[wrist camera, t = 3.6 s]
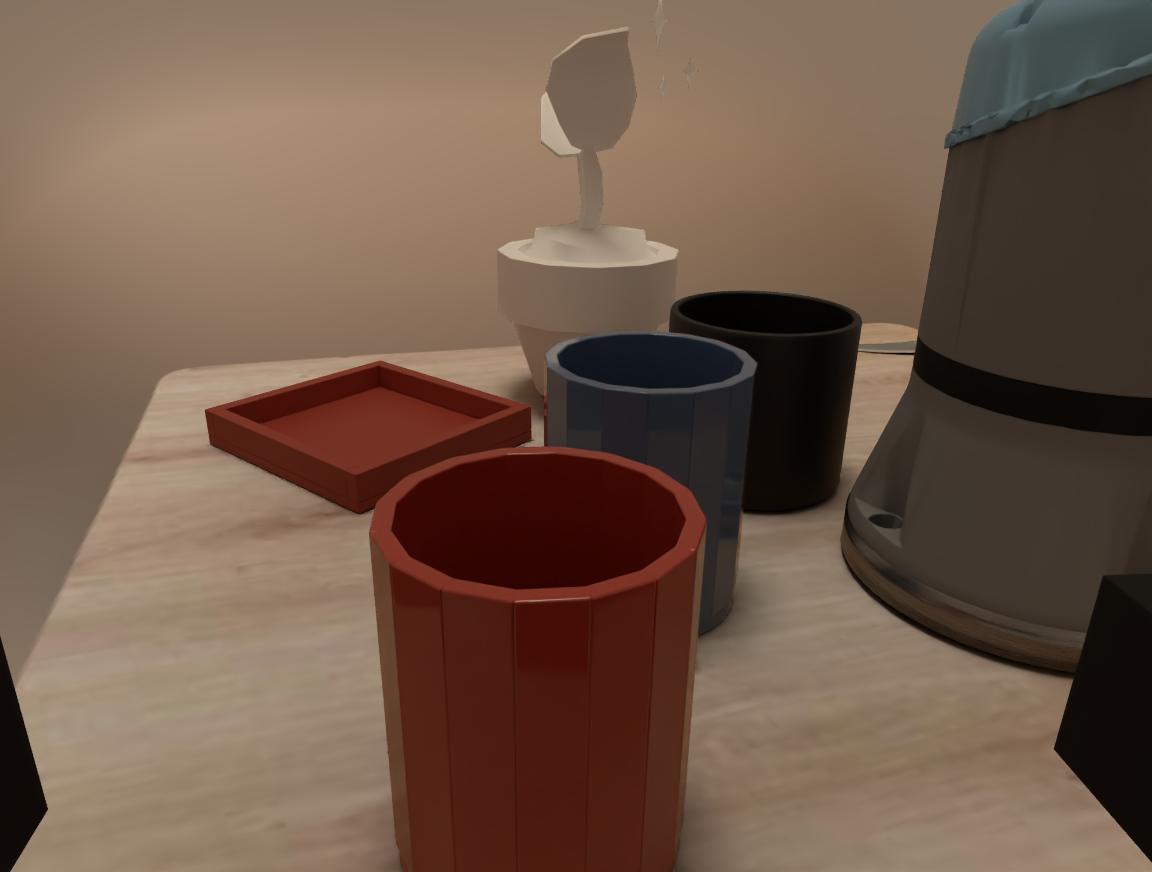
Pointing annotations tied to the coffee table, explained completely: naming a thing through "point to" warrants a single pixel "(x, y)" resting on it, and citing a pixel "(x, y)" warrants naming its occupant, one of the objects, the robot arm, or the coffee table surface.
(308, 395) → the red tray
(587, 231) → the potted plant
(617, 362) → the blue cup
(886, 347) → the knife
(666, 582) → the red cup
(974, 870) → the coffee table surface
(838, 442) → the mug
